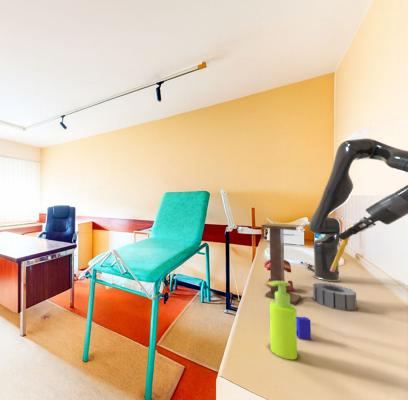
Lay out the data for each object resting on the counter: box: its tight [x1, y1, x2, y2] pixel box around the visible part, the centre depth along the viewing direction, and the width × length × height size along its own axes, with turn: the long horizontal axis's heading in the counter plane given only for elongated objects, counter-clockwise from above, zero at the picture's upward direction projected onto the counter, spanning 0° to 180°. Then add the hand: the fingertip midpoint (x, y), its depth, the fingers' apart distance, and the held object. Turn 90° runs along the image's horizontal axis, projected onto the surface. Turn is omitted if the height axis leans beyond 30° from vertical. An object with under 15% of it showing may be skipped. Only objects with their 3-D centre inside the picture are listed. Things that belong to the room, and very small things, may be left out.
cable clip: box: [296, 316, 312, 340], centre depth 72 cm, size 12×4×6 cm, turn 168°
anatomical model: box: [263, 259, 294, 293], centre depth 104 cm, size 10×8×15 cm
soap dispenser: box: [266, 280, 298, 360], centre depth 61 cm, size 6×7×20 cm
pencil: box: [330, 225, 352, 272], centre depth 86 cm, size 20×1×1 cm
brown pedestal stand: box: [261, 222, 304, 306], centre depth 94 cm, size 12×10×32 cm
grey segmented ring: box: [312, 282, 357, 311], centre depth 88 cm, size 12×12×6 cm
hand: (340, 237), depth 87 cm, fingers closed on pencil, 1 cm apart
